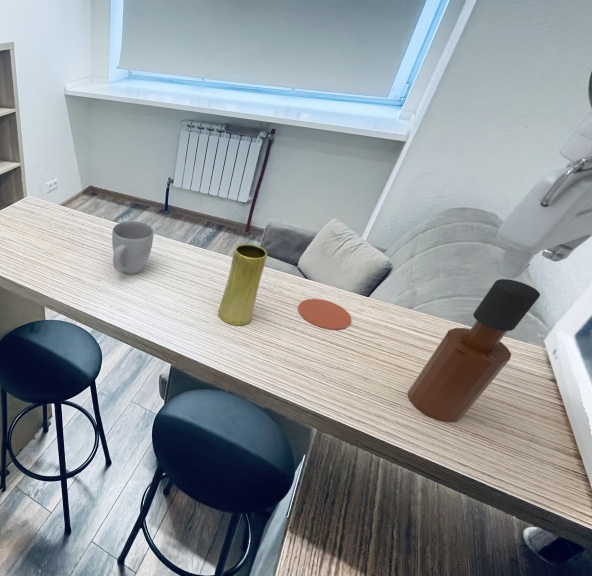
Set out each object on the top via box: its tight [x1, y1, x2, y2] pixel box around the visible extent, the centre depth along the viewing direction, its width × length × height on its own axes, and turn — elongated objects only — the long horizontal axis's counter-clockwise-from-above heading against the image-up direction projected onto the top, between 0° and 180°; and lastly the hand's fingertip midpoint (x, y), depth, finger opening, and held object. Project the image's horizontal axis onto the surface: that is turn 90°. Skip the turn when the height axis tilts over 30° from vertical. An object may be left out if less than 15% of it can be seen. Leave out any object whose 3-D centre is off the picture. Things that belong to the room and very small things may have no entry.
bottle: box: [407, 320, 512, 423], centre depth 56 cm, size 6×6×16 cm
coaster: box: [297, 298, 352, 331], centre depth 78 cm, size 9×9×1 cm
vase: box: [217, 243, 268, 326], centre depth 74 cm, size 6×6×14 cm
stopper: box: [473, 278, 541, 332], centre depth 51 cm, size 4×4×8 cm
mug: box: [111, 220, 154, 275], centre depth 89 cm, size 12×9×10 cm
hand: (529, 265), depth 48 cm, fingers open, 8 cm apart
